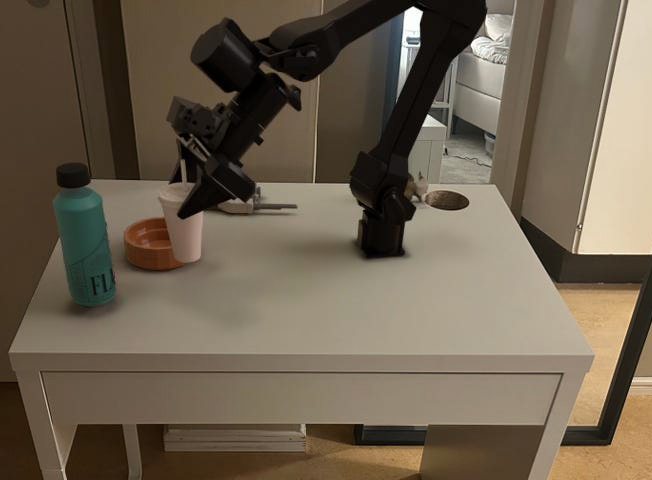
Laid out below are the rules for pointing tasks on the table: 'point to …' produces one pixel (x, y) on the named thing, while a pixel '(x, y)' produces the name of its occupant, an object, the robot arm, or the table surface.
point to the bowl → (150, 245)
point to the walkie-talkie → (250, 204)
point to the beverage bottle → (83, 237)
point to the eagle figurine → (416, 187)
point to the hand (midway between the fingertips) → (172, 207)
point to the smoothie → (180, 231)
